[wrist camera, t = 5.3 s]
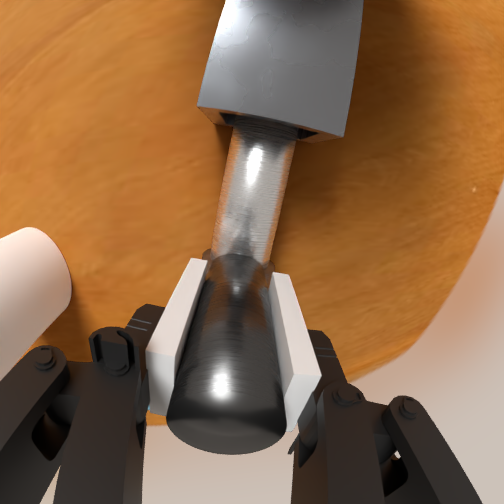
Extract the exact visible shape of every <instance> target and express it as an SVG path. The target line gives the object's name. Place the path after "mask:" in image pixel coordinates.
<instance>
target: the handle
mask: <svg viewBox="0 0 504 504" xmlns="http://www.w3.org/2000/svg"><path fill="white" fill-rule="evenodd" d="M298 129H299V128H298V127H294V126H290V125H285V124H281V123H277V122H272V121H267V120H262V119H257V118H252V117H247V116H241V115H236V118H235V123H234V128H233V133H232V137H231V142H230V147H229V152H228V157H227V162H226V167H225V173H224V178H223V183H222V189H221V194H220V200H219V205H218V211H217V217H216V223H215V228H214V234H213V241H212V247H211V248H210V249H208V250H206V251H205V252H204V253H203V256H202V260H207V261H208V262H207V269H206V276H205V283H204V286H203V289H202V292H201V296H200V299H199V302H198V305H197V308H196V312H195V315H194V318H193V322H192V325H191V328H190V332H189V335H188V338H187V342H186V345H185V349H184V352H183V355H182V359H181V362H180V366H179V370H178V373H177V377H176V380H175V384H174V388H173V391H172V395H171V399H170V402H169V406H168V410H167V414H166V421H167V424H168V427H169V428H170V430H171V431H172V432H173V433H174V435H175V436H177V437H178V438H179V439H180V440H182V441H183V442H185V443H186V444H188V445H190V446H192V447H195V448H197V449H200V450H204V451H207V452H212V453H217V454H228V455H236V454H247V453H253V452H256V451H260V450H263V449H266V448H268V447H270V446H272V445H273V444H275V443H276V442H278V441H279V440H280V439H281V438H282V437H283V435H284V434H285V432H286V429H287V419H286V412H285V405H284V398H283V391H282V384H281V377H280V370H279V363H278V356H277V349H276V342H275V336H274V329H273V322H272V315H271V309H270V302H269V296H268V290H269V286H270V282H271V277H272V273H273V272H274V270H275V266H274V264H273V263H272V262H271V261H270V260H269V259H270V255H271V250H272V246H273V242H274V238H275V233H276V229H277V225H278V220H279V216H280V211H281V207H282V203H283V198H284V194H285V189H286V185H287V180H288V176H289V171H290V166H291V162H292V157H293V153H294V148H295V143H296V139H297V134H298Z"/></svg>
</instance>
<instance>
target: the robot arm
mask: <svg viewBox="0 0 504 504" xmlns="http://www.w3.org/2000/svg"><path fill="white" fill-rule="evenodd" d="M207 262H208V261H207V260H201V259H196V258H191V259H190V261H189V263H188V265H187V267H186V269H185V271H184V273H183V275H182V276H181V278H180V280H179V282H178V284H177V286H176V288H175V290H174V292H173V294H172V296H171V298H170V300H169V302H168V304H167V306H166V308H165V307H160V306H155V305H151V304H145V305H144V306H142V307H140V308H139V309H137V310H136V312H135V313H134V315H133V316H132V319H130V321H129V323H128V324H127V326H126V327H125V329H124V328H121V327H105V328H100V329H99V330H97V331H95V332H93V333H92V334H91V336H90V337H89V343H90V348H91V354H92V359H93V362H73V361H67V360H66V357H65V355H64V353H63V352H62V351H61V350H60V349H58V348H56V347H53V346H39V347H36V348H34V349H32V350H31V351H29V352H28V353H27V354H26V355H25V356H24V357H23V358H22V359H21V360H20V361H19V362H18V363H17V364H16V365H15V366H14V367H13V368H12V369H11V370H10V371H9V372H8V373H7V374H6V375H5V376H4V378H3V379H2V380H1V381H0V504H40V502H41V500H42V498H43V496H44V494H45V492H46V491H47V489H48V487H49V485H50V483H51V481H52V479H53V478H54V476H55V474H56V472H57V470H58V469H59V467H60V470H59V475H58V479H57V485H56V490H55V495H54V501H53V504H142V480H143V460H144V448H145V435H146V426H147V423H146V413H147V410H148V407H149V406H150V413H154V414H158V415H163V416H166V414H167V410H168V406H169V402H170V399H171V395H172V391H173V388H174V384H175V380H176V377H177V373H178V370H179V366H180V362H181V359H182V355H183V352H184V349H185V345H186V342H187V338H188V335H189V332H190V328H191V325H192V322H193V318H194V315H195V312H196V308H197V305H198V302H199V299H200V296H201V292H202V289H203V286H204V283H205V276H206V269H207ZM268 296H269V302H270V309H271V315H272V322H273V329H274V336H275V342H276V349H277V356H278V363H279V370H280V377H281V384H282V391H283V398H284V405H285V412H286V419H287V429H286V431H289V432H290V431H291V432H292V431H293V429H294V427H295V426H296V424H297V422H298V427H299V434H298V436H297V437H296V439H295V441H294V442H293V444H292V446H291V447H290V449H289V451H288V454H292V452H293V451H294V464H293V480H292V481H293V482H292V495H291V504H482V502H481V500H480V498H479V496H478V494H477V493H476V491H475V489H474V487H473V486H472V484H471V482H470V480H469V479H468V477H467V476H466V474H465V472H464V470H463V469H462V467H461V465H460V463H459V462H458V460H457V458H456V457H455V455H454V454H453V452H452V450H451V449H450V447H449V446H448V444H447V442H446V441H445V439H444V438H443V436H442V435H441V433H440V432H439V430H438V428H437V427H436V425H435V424H434V422H433V421H432V420H431V418H430V416H429V415H428V413H427V412H426V410H425V409H424V408H423V406H422V405H421V404H420V403H419V402H418V401H417V400H415V399H414V398H412V397H408V396H397V397H395V398H393V400H392V401H391V402H390V404H389V405H383V404H378V403H374V402H369V401H366V399H365V397H364V395H363V393H362V392H361V391H360V390H359V389H358V388H356V387H355V386H353V385H351V384H348V383H347V380H346V378H345V375H344V373H343V370H342V368H341V365H340V363H339V360H338V358H336V356H337V355H336V353H335V351H334V350H333V349H334V348H333V346H332V343H331V341H330V339H329V338H328V337H327V336H326V335H325V334H324V333H323V332H322V331H318V330H309V329H307V328H306V325H305V322H304V319H303V316H302V313H301V310H300V306H299V303H298V300H297V297H296V294H295V291H294V289H293V286H292V283H291V280H290V277H289V275H288V274H282V273H276V272H273V273H272V277H271V282H270V286H269V290H268ZM397 450H398V452H399V454H400V456H401V457H400V458H397V457H396V456H395V454H394V453H395V452H396V451H397ZM60 465H61V466H60Z"/></svg>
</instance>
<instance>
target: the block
mask: <svg viewBox="0 0 504 504" xmlns="http://www.w3.org/2000/svg"><path fill="white" fill-rule="evenodd" d="M363 2H364V0H226V3H225V6H224V9H223V12H222V15H221V18H220V21H219V24H218V27H217V31H216V34H215V37H214V41H213V44H212V48H211V51H210V55H209V58H208V62H207V66H206V70H205V74H204V78H203V82H202V86H201V90H200V94H199V98H198V103H197V107H198V108H199V109H200V110H201V111H202V112H203V113H204V114H205V115H206V116H207V117H208V118H209V119H210V120H211V121H212V122H213V123H214V124H218V125H225V126H231V127H234V123H235V118H236V115H241V116H247V117H252V118H257V119H262V120H267V121H272V122H277V123H281V124H285V125H290V126H294V127H298V128H299V129H298V134H297V139H296V140H298V141H302V142H306V143H310V144H312V143H316V142H321V141H326V140H332V139H337V138H342V137H344V132H345V127H346V121H347V116H348V111H349V105H350V100H351V94H352V88H353V82H354V75H355V69H356V62H357V55H358V48H359V40H360V32H361V23H362V13H363Z"/></svg>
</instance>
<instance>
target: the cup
mask: <svg viewBox="0 0 504 504" xmlns="http://www.w3.org/2000/svg"><path fill="white" fill-rule="evenodd" d="M71 292H72V286H71V278H70V273H69V270H68V267H67V264H66V262H65V259H64V257H63V255H62V254H61V252H60V250H59V249H58V247H57V246H56V244H55V243H54V242H53V241H52V239H51V238H50V237H49V236H47V235H46V234H45V233H44V232H42V231H40V230H38V229H36V228H31V227H27V228H23V229H20V230H18V231H16V232H14V233H12V234H10V235H7V236H5V237H3V238H1V239H0V381H1V380H2V379H3V378H4V376H5V375H6V374H7V373H8V372H9V371H10V370H11V369H12V367H13V366H14V365H15V364H16V363H17V361H18V360H19V359H20V358H21V357H22V355H23V354H24V353H25V352H26V351H27V350H28V349H29V347H30V346H31V345H32V344H33V343H34V342H35V341H36V340H37V339H38V337H39V336H40V335H41V334H42V333H43V332H44V331H45V330H46V329H47V328H48V327H49V326H50V325H51V324H52V323H53V321H54V320H55V319H56V318H57V317H58V316H59V315H60V314H61V313H62V312H63V311H64V310H65V309H66V308H67V306H68V304H69V302H70V299H71Z"/></svg>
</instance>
